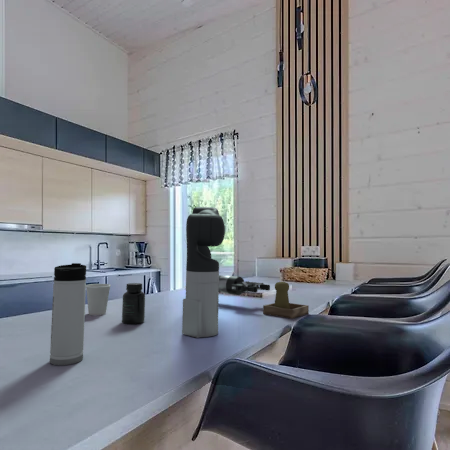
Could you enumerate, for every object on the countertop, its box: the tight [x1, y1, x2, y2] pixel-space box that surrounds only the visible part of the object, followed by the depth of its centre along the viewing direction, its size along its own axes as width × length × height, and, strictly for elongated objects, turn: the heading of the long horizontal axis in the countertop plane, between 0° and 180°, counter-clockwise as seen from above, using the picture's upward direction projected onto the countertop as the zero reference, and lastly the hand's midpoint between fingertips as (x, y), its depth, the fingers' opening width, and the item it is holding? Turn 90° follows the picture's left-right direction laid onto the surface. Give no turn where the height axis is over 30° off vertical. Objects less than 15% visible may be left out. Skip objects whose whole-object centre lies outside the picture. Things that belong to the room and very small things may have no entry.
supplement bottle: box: [121, 282, 146, 326], centre depth 107 cm, size 7×7×12 cm
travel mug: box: [49, 262, 87, 366], centre depth 71 cm, size 6×7×20 cm
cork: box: [274, 281, 290, 309], centre depth 123 cm, size 6×6×11 cm
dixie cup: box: [86, 283, 111, 316], centre depth 119 cm, size 8×8×10 cm
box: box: [262, 302, 310, 320], centre depth 123 cm, size 12×12×3 cm
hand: (263, 288), depth 130 cm, fingers open, 8 cm apart
